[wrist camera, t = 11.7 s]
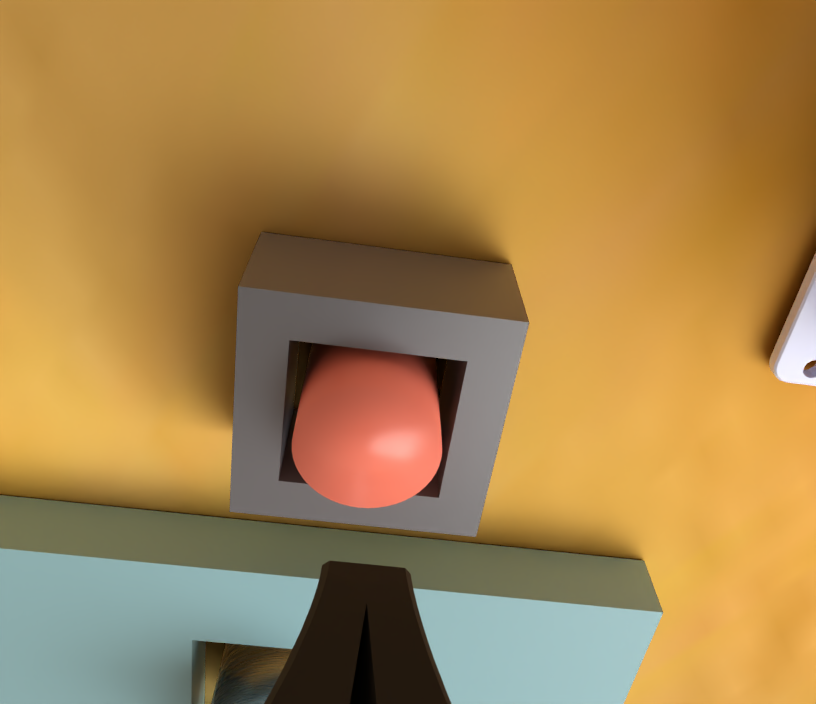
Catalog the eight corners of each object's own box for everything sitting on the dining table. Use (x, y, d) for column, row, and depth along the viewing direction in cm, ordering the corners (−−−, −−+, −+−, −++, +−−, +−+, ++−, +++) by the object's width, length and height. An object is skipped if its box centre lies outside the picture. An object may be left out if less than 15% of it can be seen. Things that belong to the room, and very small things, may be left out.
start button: (445, 317, 19) (454, 396, 16) (425, 424, 21) (429, 515, 18) (313, 301, 19) (297, 378, 16) (303, 410, 20) (286, 500, 17)
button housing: (511, 264, 19) (528, 322, 16) (466, 461, 22) (476, 536, 19) (261, 232, 18) (238, 286, 16) (250, 437, 21) (229, 511, 19)
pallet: (643, 560, 24) (662, 612, 22) (552, 790, 30) (561, 845, 28) (-38, 491, 22) (-75, 541, 20) (9, 748, 28) (-17, 803, 26)
